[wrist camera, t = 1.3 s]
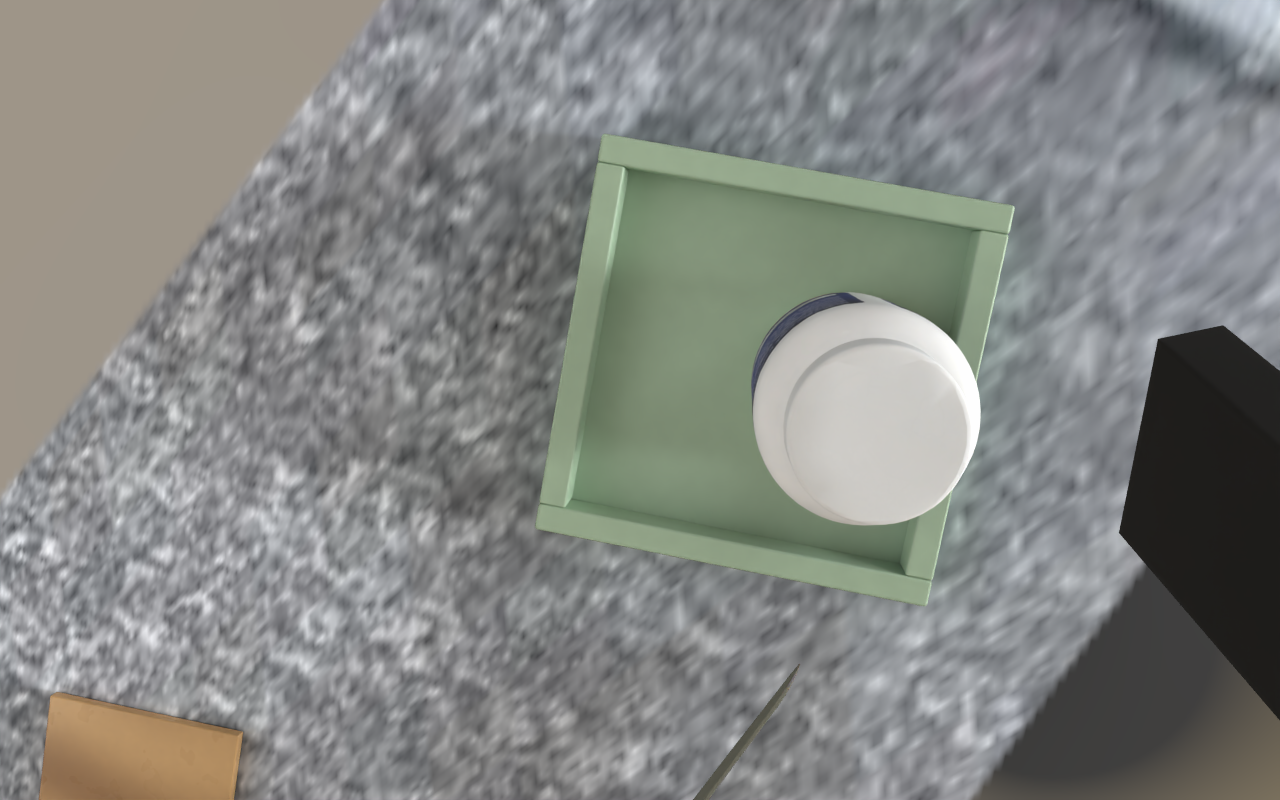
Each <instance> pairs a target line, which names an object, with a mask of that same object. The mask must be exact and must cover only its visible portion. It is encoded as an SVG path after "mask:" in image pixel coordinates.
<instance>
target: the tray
mask: <svg viewBox="0 0 1280 800" xmlns="http://www.w3.org/2000/svg"><path fill="white" fill-rule="evenodd" d="M598 161H599V162H598V163H597V166H596V172H595V178H594V184H593V190H592V196H591V201H590V207H589V213H588V219H587V225H586V231H585V237H584V242H583V248H582V254H581V260H580V266H579V272H578V278H577V283H576V289H575V295H574V301H573V307H572V313H571V319H570V324H569V330H568V336H567V342H566V348H565V354H564V360H563V366H562V371H561V377H560V383H559V389H558V395H557V401H556V407H555V412H554V418H553V424H552V430H551V436H550V442H549V448H548V453H547V459H546V465H545V471H544V477H543V483H542V489H541V495H540V500H539V501H540V504H539V507H538V512H537V518H536V524H535V527H536V529H538V530H543V531H548V532H553V533H558V534H563V535H568V536H573V537H578V538H583V539H588V540H593V541H598V542H603V543H609V544H614V545H619V546H624V547H629V548H634V549H639V550H644V551H649V552H654V553H659V554H664V555H669V556H674V557H679V558H684V559H689V560H694V561H699V562H704V563H709V564H714V565H719V566H724V567H729V568H734V569H739V570H744V571H749V572H754V573H759V574H764V575H769V576H774V577H779V578H784V579H789V580H794V581H799V582H804V583H809V584H814V585H819V586H824V587H829V588H834V589H839V590H844V591H849V592H854V593H859V594H864V595H869V596H874V597H879V598H884V599H889V600H894V601H899V602H904V603H909V604H914V605H919V606H926V605H927V602H928V598H929V593H930V589H931V584H932V582H931V580H932V579H933V575H934V571H935V566H936V562H937V557H938V553H939V548H940V544H941V539H942V535H943V530H944V526H945V521H946V517H947V512H948V508H949V503H950V499H951V494H952V490H953V489H952V490H951V492H950V493H949V494H948V495H947V496H946V497H945V498H944V499H943V500H942V501H941V502H940V503H938V504H937V505H936V506H935V507H933V508H932V509H930V510H928V511H927V512H925V513H924V514H922V515H919V516H917V517H915V518H912V519H910V520H907V521H903V522H899V523H895V524H887V525H865V526H864V525H851V524H844V523H839V522H835V521H831V520H828V519H826V518H823V517H820V516H818V515H816V514H814V513H812V512H811V511H809V510H807V509H805V508H804V507H802V506H801V505H799V504H798V503H797V502H795V501H794V500H793V499H792V498H791V497H789V496H788V495H787V494H786V493H785V492H784V491H783V489H782V488H781V487H780V486H779V485H778V484H777V482H776V481H775V480H774V479H773V477H772V475H771V474H770V472H769V471H768V469H767V467H766V465H765V463H764V461H763V458H762V456H761V454H760V451H759V448H758V444H757V441H756V436H755V431H754V426H753V416H752V393H751V378H752V370H753V364H754V361H755V357H756V354H757V351H758V349H759V347H760V345H761V343H762V341H763V339H764V337H765V336H766V334H767V333H768V331H769V330H770V329H771V327H772V326H773V325H774V324H775V323H776V322H777V321H778V320H779V319H780V318H781V317H782V316H783V315H784V314H785V313H786V312H788V311H789V310H790V309H792V308H793V307H795V306H797V305H798V304H800V303H802V302H804V301H806V300H809V299H811V298H814V297H817V296H820V295H824V294H829V293H839V292H855V293H862V294H867V295H871V296H874V297H877V298H881V299H884V300H887V301H889V302H891V303H894V304H896V305H898V306H900V307H903V308H906V309H908V310H910V311H913V312H915V313H917V314H919V315H921V316H922V317H924V318H926V319H928V320H929V321H931V322H932V323H933V324H935V325H936V326H937V327H939V328H940V329H941V330H942V331H943V332H945V333H946V334H947V335H948V336H949V337H950V338H951V339H952V340H953V342H954V343H955V344H956V345H957V346H958V348H959V349H960V350H961V352H962V353H963V355H964V356H965V358H966V360H967V362H968V363H969V365H970V368H971V370H972V372H973V375H974V378H975V381H976V382H977V377H978V373H979V368H980V363H981V359H982V354H983V350H984V345H985V341H986V336H987V332H988V327H989V323H990V318H991V314H992V309H993V305H994V300H995V296H996V291H997V287H998V282H999V278H1000V273H1001V269H1002V264H1003V260H1004V255H1005V251H1006V246H1007V242H1008V235H1006V234H1008V233H1009V232H1010V228H1011V223H1012V219H1013V214H1014V210H1015V209H1014V206H1012V205H1007V204H1001V203H996V202H990V201H984V200H979V199H973V198H967V197H962V196H956V195H950V194H945V193H939V192H933V191H928V190H922V189H916V188H911V187H905V186H899V185H894V184H888V183H882V182H876V181H871V180H865V179H859V178H854V177H848V176H842V175H837V174H831V173H825V172H820V171H814V170H808V169H803V168H797V167H791V166H786V165H780V164H774V163H769V162H763V161H757V160H751V159H746V158H740V157H734V156H729V155H723V154H717V153H712V152H706V151H700V150H695V149H689V148H683V147H678V146H672V145H666V144H661V143H655V142H649V141H644V140H638V139H632V138H626V137H621V136H615V135H609V134H603V135H602V138H601V143H600V149H599V155H598Z"/></svg>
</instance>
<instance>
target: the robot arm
mask: <svg viewBox="0 0 1280 800" xmlns="http://www.w3.org/2000/svg"><path fill="white" fill-rule="evenodd" d="M1119 533H1120V535H1121V536H1122V537H1123V538H1124V539H1125V540H1126V542H1127V543H1128V544H1129V545H1130V546H1131V547H1132V549H1133V550H1134V551H1135V552H1136V553H1137V554H1138V556H1139V557H1140V558H1141V559H1142V560H1143V561H1144V563H1145V564H1146V565H1147V566H1148V567H1149V568H1150V569H1151V571H1152V572H1153V573H1154V574H1155V575H1156V577H1157V578H1158V579H1159V580H1160V581H1161V582H1162V584H1163V585H1164V586H1165V587H1166V588H1167V589H1168V590H1169V592H1170V593H1171V594H1172V595H1173V596H1174V597H1175V599H1176V600H1177V601H1178V602H1179V603H1180V605H1182V607H1183V608H1184V609H1185V610H1186V611H1187V613H1189V615H1190V616H1191V617H1192V618H1193V619H1194V621H1195V622H1196V623H1197V624H1198V625H1199V627H1200V628H1201V629H1202V630H1203V631H1204V632H1205V634H1206V635H1207V636H1208V637H1209V638H1210V639H1211V641H1212V642H1213V643H1214V644H1215V645H1216V646H1217V648H1218V649H1219V650H1220V651H1221V652H1222V653H1223V655H1224V656H1225V657H1226V658H1227V659H1228V660H1229V662H1230V663H1231V664H1232V665H1233V666H1234V667H1235V669H1236V670H1237V671H1238V672H1239V673H1240V674H1241V676H1242V677H1243V678H1244V679H1245V680H1246V681H1247V683H1248V684H1249V685H1250V686H1251V687H1252V688H1253V690H1254V691H1255V692H1256V693H1257V694H1258V695H1259V696H1260V698H1261V699H1262V700H1263V701H1264V702H1265V704H1266V705H1267V706H1268V707H1269V708H1270V709H1271V711H1272V712H1273V713H1274V714H1275V715H1276V716H1277V718H1278V719H1279V720H1280V371H1279V370H1278V369H1276V368H1275V367H1274V366H1273V365H1271V364H1270V363H1269V362H1268V361H1267V360H1265V359H1264V358H1263V357H1262V356H1260V355H1259V354H1258V353H1257V352H1255V351H1254V350H1253V349H1252V348H1250V347H1249V346H1248V345H1247V344H1246V343H1244V342H1243V341H1242V340H1241V339H1239V338H1238V337H1237V336H1236V335H1234V334H1233V333H1232V332H1231V331H1229V330H1228V329H1227V328H1226V327H1225V326H1218V327H1213V328H1208V329H1204V330H1199V331H1194V332H1189V333H1184V334H1180V335H1175V336H1170V337H1165V338H1160V339H1158V342H1157V347H1156V352H1155V357H1154V362H1153V367H1152V372H1151V377H1150V382H1149V387H1148V392H1147V396H1146V401H1145V406H1144V411H1143V416H1142V421H1141V426H1140V431H1139V436H1138V441H1137V446H1136V451H1135V456H1134V461H1133V466H1132V471H1131V476H1130V481H1129V486H1128V491H1127V496H1126V501H1125V506H1124V511H1123V516H1122V521H1121V526H1120V531H1119Z"/></svg>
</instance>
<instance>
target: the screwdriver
mask: <svg viewBox="0 0 1280 800" xmlns="http://www.w3.org/2000/svg"><path fill="white" fill-rule="evenodd" d="M799 665H800V664H799ZM799 665H798V666H797V667H796V668H795V669H794V671H793V672H792V673H791V674H790V676H789V677H788V678H787V679H786V681H785V682H784V683H783V685H782V686H781V687H780V688H779V690H778V691H777V692H776V694H775V695H774V696H773V697H772V699H771V700H770V701H769V703H768V704H767V705H766V706H765V708H764V709H763V710H762V712H761V713H760V714H759V715H758V717H757V718H756V719H755V721H754V722H753V723H752V724H751V726H750V727H749V728H748V730H747V731H746V732H745V733H744V735H743V736H742V737H741V739H740V740H739V741H738V742H737V744H736V745H735V746H734V747H733V749H732V750H731V751H730V753H729V754H728V755H727V757H726V758H725V759H724V760H723V762H722V763H721V764H720V766H719V767H718V768H717V769H716V771H715V772H714V773H713V775H712V776H711V777H710V779H709V780H708V781H707V782H706V784H705V785H704V786H703V788H702V789H701V790H700V792H699V793H698V794H697V795H696V797H695V798H694V799H693V800H709V799H710V797H711V796H712V794H713V793H714V792H715V790H716V789H717V788H718V786H719V785H720V784H721V782H722V781H723V780H724V778H725V777H726V776H727V774H728V773H729V772H730V770H731V769H732V768H733V766H734V765H735V764H736V762H737V761H738V760H739V758H740V757H741V755H742V754H743V753H744V751H745V750H746V749H747V747H748V746H749V745H750V743H751V742H752V741H753V739H754V738H755V737H756V735H757V734H758V733H759V731H760V730H761V729H762V727H763V726H764V724H765V723H766V722H767V720H768V719H769V718H770V716H771V715H772V714H773V712H774V711H775V710H776V708H777V707H778V706H779V704H780V703H781V701H782V700H783V698H784V697H785V695H786V693H787V692H788V690H789V688H790V686H791V684H792V682H793V680H794V678H795V676H796V674H797V671H798V669H799Z"/></svg>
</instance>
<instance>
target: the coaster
mask: <svg viewBox="0 0 1280 800" xmlns="http://www.w3.org/2000/svg"><path fill="white" fill-rule="evenodd" d="M242 736H243V732H242V731H237V730H233V729H228V728H223V727H219V726H214V725H209V724H205V723H200V722H195V721H191V720H186V719H181V718H177V717H172V716H167V715H163V714H158V713H153V712H149V711H144V710H139V709H135V708H130V707H125V706H121V705H116V704H112V703H107V702H102V701H98V700H93V699H88V698H84V697H79V696H74V695H70V694H65V693H60V692H56V693H55V694H53V695H51V697H50V706H49V715H48V723H47V732H46V741H45V750H44V759H43V768H42V777H41V786H40V795H39V800H234V795H235V787H236V780H237V773H238V765H239V758H240V751H241V744H242Z"/></svg>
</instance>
